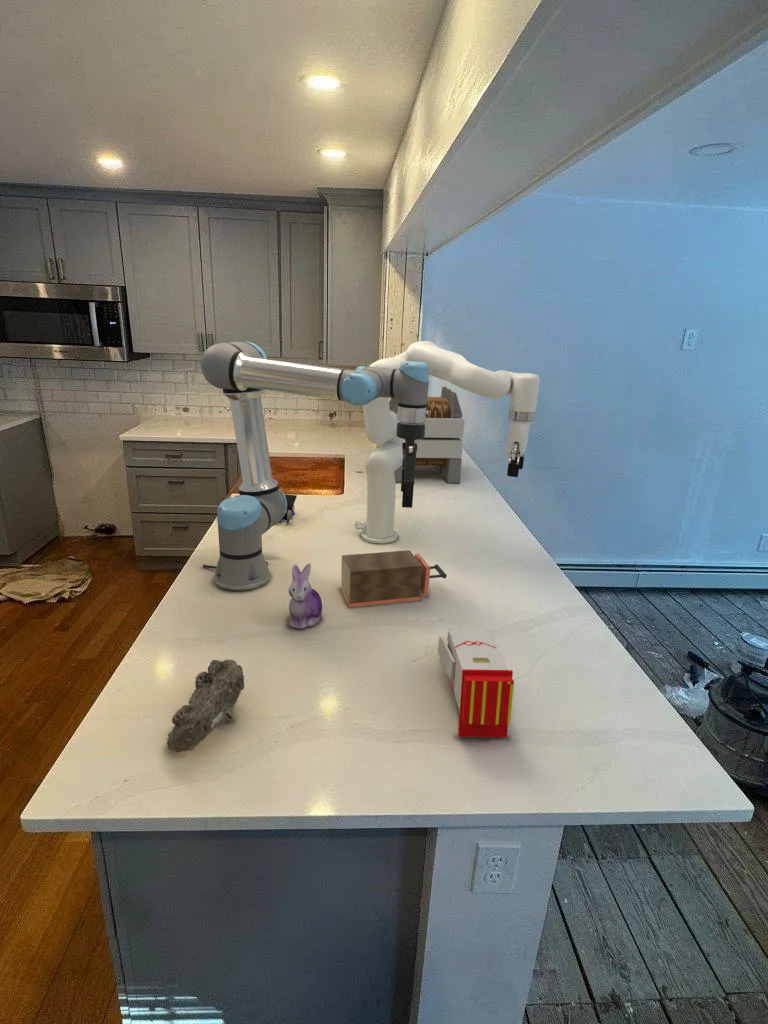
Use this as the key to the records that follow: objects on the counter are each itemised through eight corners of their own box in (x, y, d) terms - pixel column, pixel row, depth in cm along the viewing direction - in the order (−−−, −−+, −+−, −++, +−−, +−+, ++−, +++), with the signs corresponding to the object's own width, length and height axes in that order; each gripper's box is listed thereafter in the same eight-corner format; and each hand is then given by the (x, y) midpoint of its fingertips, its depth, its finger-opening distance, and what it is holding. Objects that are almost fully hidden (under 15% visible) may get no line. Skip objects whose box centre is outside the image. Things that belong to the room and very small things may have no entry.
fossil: (192, 660, 117) (244, 628, 112) (224, 691, 120) (276, 661, 115) (142, 746, 98) (202, 712, 93) (182, 779, 101) (242, 748, 96)
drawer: (435, 578, 166) (437, 551, 163) (447, 593, 158) (449, 565, 155) (355, 585, 159) (355, 558, 157) (363, 601, 151) (364, 573, 148)
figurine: (294, 634, 136) (293, 577, 131) (280, 614, 145) (279, 560, 139) (330, 625, 140) (331, 571, 135) (315, 606, 149) (315, 554, 144)
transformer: (382, 463, 289) (386, 382, 275) (445, 464, 293) (451, 384, 279) (390, 482, 257) (394, 392, 243) (460, 483, 261) (468, 394, 247)
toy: (488, 613, 130) (523, 677, 101) (484, 667, 133) (517, 744, 104) (435, 612, 130) (455, 676, 101) (432, 666, 133) (451, 743, 103)
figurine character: (292, 529, 203) (297, 511, 216) (292, 510, 199) (297, 492, 213) (273, 529, 202) (280, 510, 216) (272, 510, 199) (279, 492, 213)
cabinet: (407, 582, 165) (409, 550, 161) (419, 600, 155) (422, 565, 152) (341, 588, 159) (341, 555, 156) (349, 607, 150) (350, 571, 146)
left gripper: (428, 433, 137) (422, 515, 145) (422, 414, 161) (417, 486, 168) (397, 431, 137) (392, 513, 144) (396, 413, 161) (392, 484, 168)
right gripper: (513, 410, 176) (507, 464, 181) (504, 419, 160) (497, 477, 166) (538, 413, 173) (531, 467, 179) (531, 422, 158) (523, 481, 164)
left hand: (406, 499), depth 156 cm, fingers open, 13 cm apart
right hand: (514, 472), depth 172 cm, fingers open, 9 cm apart
